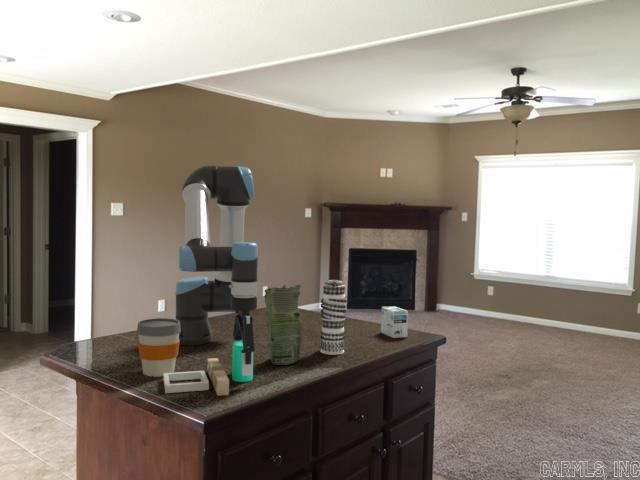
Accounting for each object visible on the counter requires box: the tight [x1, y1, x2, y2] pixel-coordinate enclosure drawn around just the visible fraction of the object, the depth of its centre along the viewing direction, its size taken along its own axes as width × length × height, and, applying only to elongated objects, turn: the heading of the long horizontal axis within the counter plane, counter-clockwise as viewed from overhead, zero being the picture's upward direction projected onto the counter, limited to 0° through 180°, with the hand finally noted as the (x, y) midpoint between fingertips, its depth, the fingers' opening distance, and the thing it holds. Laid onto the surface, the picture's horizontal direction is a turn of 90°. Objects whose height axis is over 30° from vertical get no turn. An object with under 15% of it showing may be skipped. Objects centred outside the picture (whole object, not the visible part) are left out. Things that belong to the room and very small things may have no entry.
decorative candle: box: [319, 279, 348, 356], centre depth 194 cm, size 9×9×25 cm
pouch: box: [264, 284, 303, 366], centre depth 180 cm, size 11×12×25 cm
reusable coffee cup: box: [136, 317, 181, 378], centre depth 165 cm, size 13×13×15 cm
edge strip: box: [206, 357, 230, 397], centre depth 157 cm, size 22×3×4 cm, turn 18°
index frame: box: [162, 370, 210, 394], centre depth 154 cm, size 11×11×2 cm
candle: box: [231, 341, 254, 383], centre depth 161 cm, size 6×6×12 cm
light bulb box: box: [380, 305, 409, 339], centre depth 223 cm, size 11×7×11 cm, turn 22°
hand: (242, 368), depth 161 cm, fingers open, 13 cm apart
